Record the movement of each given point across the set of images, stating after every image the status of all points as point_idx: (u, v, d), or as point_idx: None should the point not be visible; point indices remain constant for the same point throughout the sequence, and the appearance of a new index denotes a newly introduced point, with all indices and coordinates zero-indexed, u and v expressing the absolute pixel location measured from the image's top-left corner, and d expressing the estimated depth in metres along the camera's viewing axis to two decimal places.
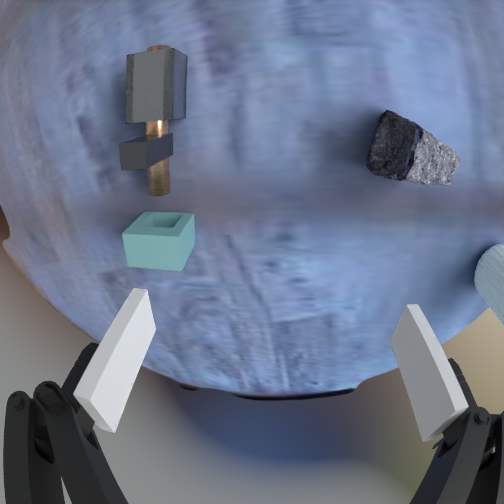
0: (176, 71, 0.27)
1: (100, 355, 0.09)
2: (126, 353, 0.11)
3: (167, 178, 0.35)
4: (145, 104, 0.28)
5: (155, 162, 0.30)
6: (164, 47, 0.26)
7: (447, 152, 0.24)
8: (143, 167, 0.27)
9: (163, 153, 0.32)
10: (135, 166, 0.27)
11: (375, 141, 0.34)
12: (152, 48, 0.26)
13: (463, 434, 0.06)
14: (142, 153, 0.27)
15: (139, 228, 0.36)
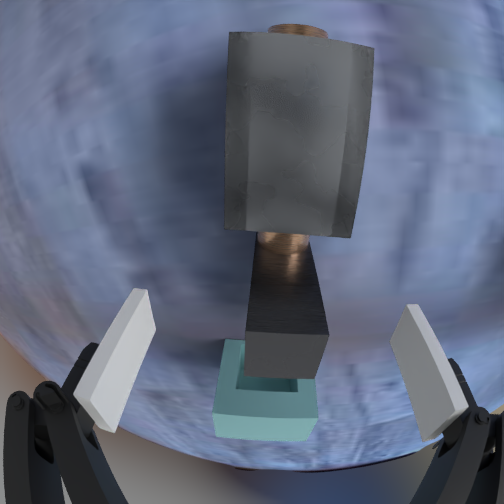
0: None
1: (100, 355, 0.09)
2: (126, 353, 0.11)
3: None
4: (287, 188, 0.12)
5: None
6: (323, 35, 0.10)
7: None
8: (307, 376, 0.12)
9: None
10: (286, 374, 0.12)
11: None
12: (294, 29, 0.10)
13: (463, 434, 0.06)
14: (312, 355, 0.11)
15: (239, 397, 0.20)
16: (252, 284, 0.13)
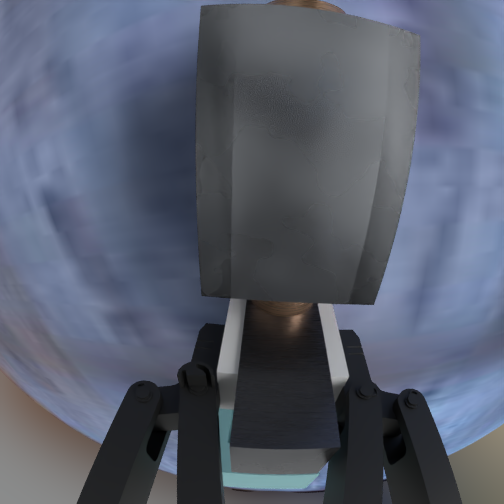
0: None
1: (231, 332, 0.11)
2: None
3: None
4: (289, 244, 0.08)
5: None
6: None
7: None
8: (309, 472, 0.08)
9: None
10: (284, 472, 0.08)
11: None
12: (301, 5, 0.06)
13: (348, 416, 0.08)
14: (317, 460, 0.07)
15: None
16: (240, 369, 0.09)
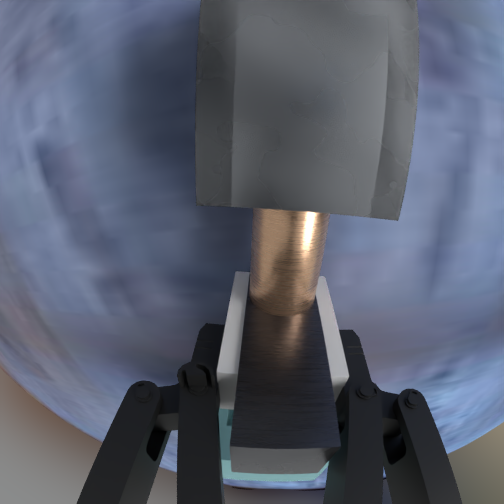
0: None
1: (231, 332, 0.11)
2: None
3: None
4: (299, 133, 0.07)
5: None
6: None
7: None
8: (309, 472, 0.08)
9: None
10: (284, 472, 0.08)
11: None
12: None
13: (348, 416, 0.08)
14: (317, 460, 0.07)
15: None
16: (240, 369, 0.09)
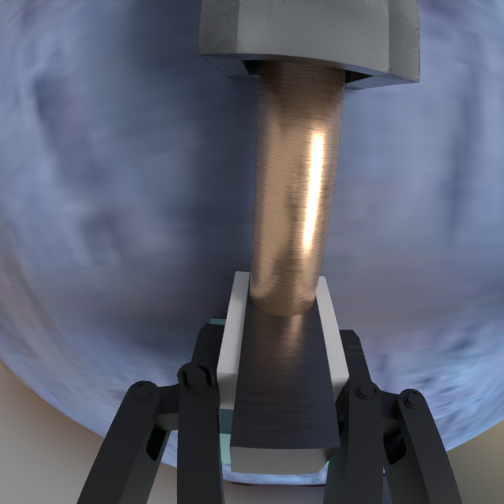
0: None
1: (231, 332, 0.11)
2: None
3: None
4: None
5: None
6: None
7: None
8: (309, 472, 0.08)
9: None
10: (284, 472, 0.08)
11: None
12: None
13: (348, 416, 0.08)
14: (317, 460, 0.07)
15: None
16: (240, 369, 0.09)
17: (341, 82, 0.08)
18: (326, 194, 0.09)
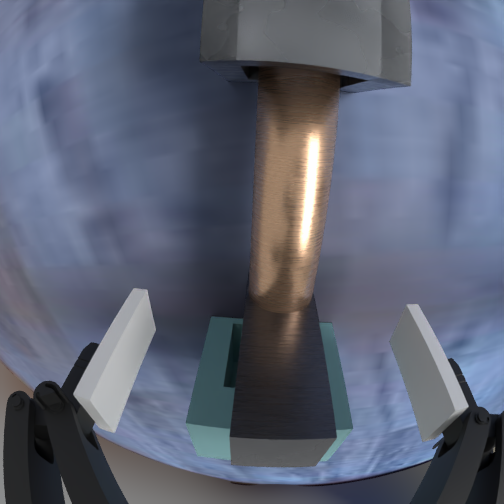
0: None
1: (100, 355, 0.09)
2: (126, 353, 0.11)
3: None
4: None
5: None
6: None
7: None
8: (307, 465, 0.08)
9: None
10: (282, 464, 0.08)
11: None
12: None
13: (463, 434, 0.06)
14: (314, 452, 0.07)
15: (229, 399, 0.13)
16: (240, 363, 0.09)
17: (336, 87, 0.08)
18: (322, 194, 0.10)
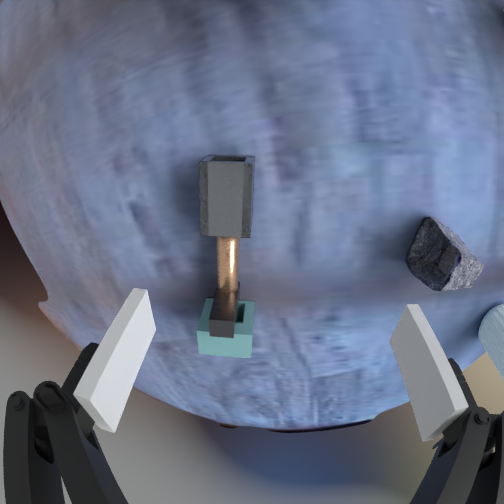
0: (252, 184, 0.33)
1: (100, 355, 0.09)
2: (126, 353, 0.11)
3: (236, 320, 0.44)
4: (222, 219, 0.33)
5: (235, 324, 0.38)
6: None
7: (475, 266, 0.30)
8: (231, 337, 0.36)
9: (237, 308, 0.40)
10: (223, 335, 0.36)
11: (415, 241, 0.39)
12: None
13: (463, 434, 0.06)
14: (230, 328, 0.35)
15: None
16: (212, 305, 0.37)
17: None
18: (234, 260, 0.38)
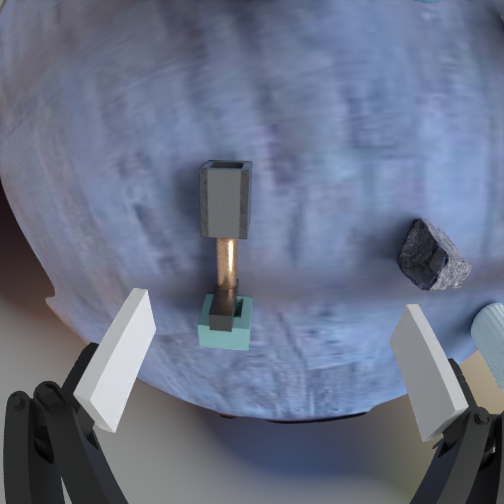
0: (249, 189, 0.35)
1: (100, 355, 0.09)
2: (126, 353, 0.11)
3: (235, 314, 0.47)
4: (221, 222, 0.36)
5: (233, 318, 0.41)
6: None
7: (463, 267, 0.32)
8: (229, 330, 0.39)
9: (235, 304, 0.43)
10: (222, 329, 0.39)
11: (406, 242, 0.42)
12: None
13: (463, 434, 0.06)
14: (228, 322, 0.38)
15: None
16: (212, 301, 0.40)
17: None
18: (233, 259, 0.41)
